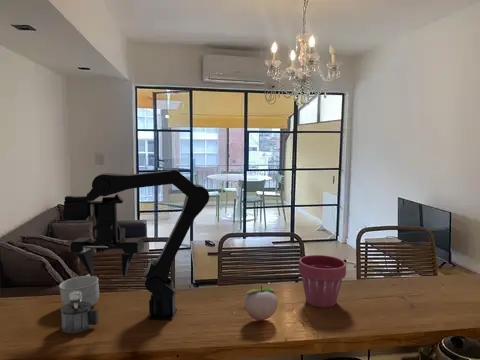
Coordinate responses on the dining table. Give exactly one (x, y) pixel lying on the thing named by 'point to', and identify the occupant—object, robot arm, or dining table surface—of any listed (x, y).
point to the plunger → (75, 298)
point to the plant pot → (322, 279)
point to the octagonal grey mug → (78, 317)
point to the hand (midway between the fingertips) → (108, 276)
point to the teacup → (80, 289)
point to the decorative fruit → (260, 303)
